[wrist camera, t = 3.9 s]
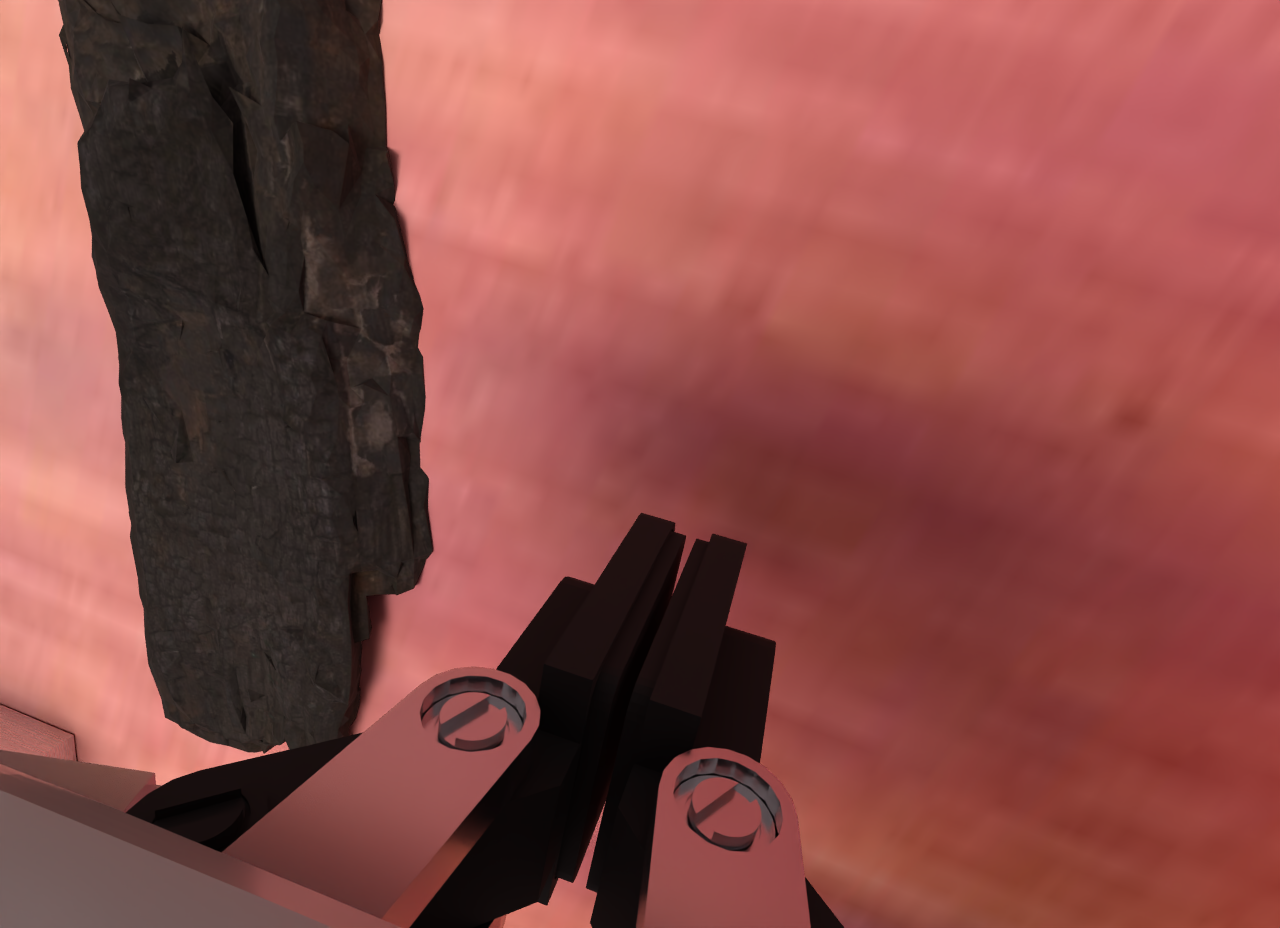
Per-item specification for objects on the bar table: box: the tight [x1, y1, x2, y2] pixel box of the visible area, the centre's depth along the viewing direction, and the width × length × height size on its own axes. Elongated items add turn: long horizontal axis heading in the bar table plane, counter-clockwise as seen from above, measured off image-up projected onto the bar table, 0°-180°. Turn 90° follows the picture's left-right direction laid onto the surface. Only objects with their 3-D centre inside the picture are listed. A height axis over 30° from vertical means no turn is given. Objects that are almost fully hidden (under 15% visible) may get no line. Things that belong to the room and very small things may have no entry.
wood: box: [58, 0, 432, 754], centre depth 15 cm, size 22×7×3 cm, turn 171°
